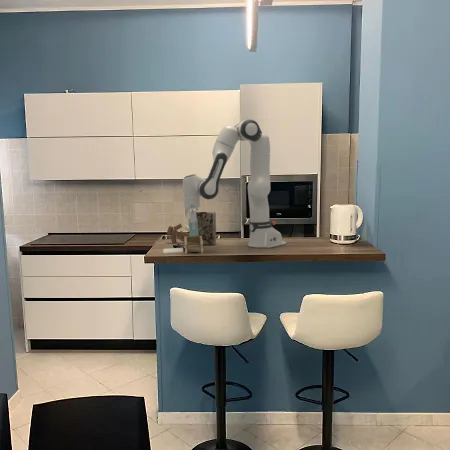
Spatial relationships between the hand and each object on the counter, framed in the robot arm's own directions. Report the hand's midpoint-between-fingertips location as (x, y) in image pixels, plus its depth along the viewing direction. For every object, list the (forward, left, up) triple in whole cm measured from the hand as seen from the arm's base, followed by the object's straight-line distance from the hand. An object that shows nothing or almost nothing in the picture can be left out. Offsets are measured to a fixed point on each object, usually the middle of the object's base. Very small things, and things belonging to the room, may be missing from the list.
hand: (193, 228), depth 268 cm
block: (0, 0, -4) cm, 4 cm away
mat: (+11, -6, -13) cm, 17 cm away
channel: (+1, 0, -13) cm, 13 cm away
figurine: (-3, -28, -13) cm, 31 cm away
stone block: (-13, -13, -13) cm, 22 cm away
